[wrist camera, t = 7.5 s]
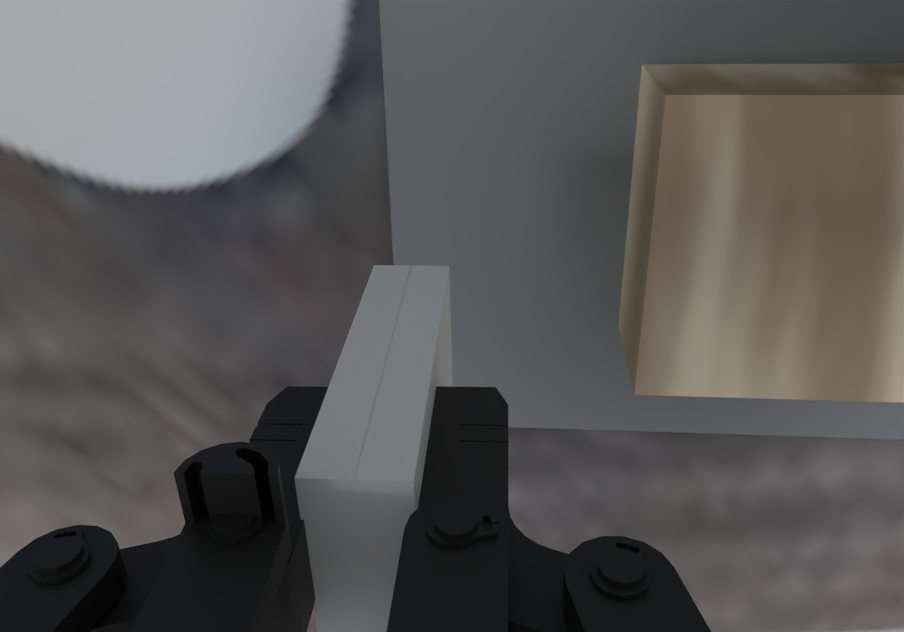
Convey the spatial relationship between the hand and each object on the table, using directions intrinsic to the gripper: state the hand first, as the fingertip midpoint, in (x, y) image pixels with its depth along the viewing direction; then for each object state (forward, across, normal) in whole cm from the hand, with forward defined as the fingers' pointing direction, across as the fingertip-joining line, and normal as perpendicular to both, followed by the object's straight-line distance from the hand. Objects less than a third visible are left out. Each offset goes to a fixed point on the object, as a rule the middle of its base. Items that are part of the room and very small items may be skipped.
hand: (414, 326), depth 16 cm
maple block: (+6, +5, 0) cm, 8 cm away
